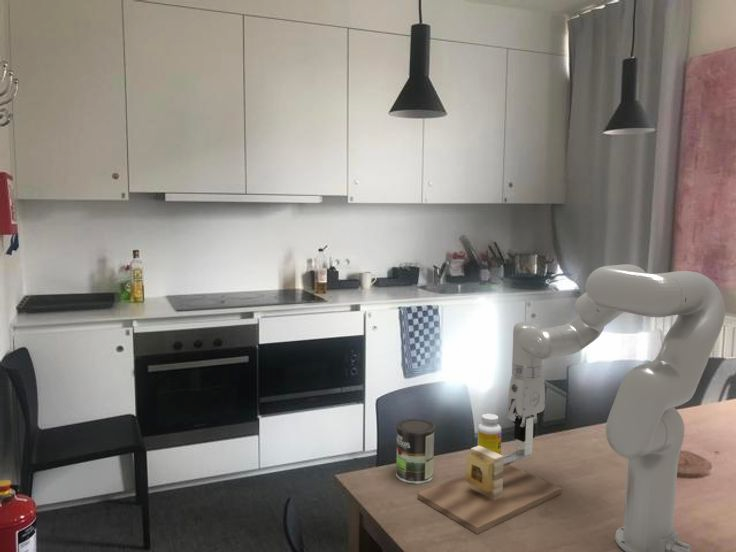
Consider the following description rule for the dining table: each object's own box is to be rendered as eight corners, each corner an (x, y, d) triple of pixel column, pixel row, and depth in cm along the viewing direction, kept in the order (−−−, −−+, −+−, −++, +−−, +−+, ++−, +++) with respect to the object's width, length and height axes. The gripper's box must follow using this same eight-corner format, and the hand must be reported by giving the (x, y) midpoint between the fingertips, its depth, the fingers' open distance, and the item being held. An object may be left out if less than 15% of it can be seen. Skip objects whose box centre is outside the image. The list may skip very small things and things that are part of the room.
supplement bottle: (500, 465, 166) (502, 421, 165) (476, 463, 168) (478, 419, 166) (500, 455, 173) (501, 413, 171) (477, 453, 174) (478, 411, 173)
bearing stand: (561, 493, 150) (563, 448, 148) (477, 534, 131) (478, 482, 130) (499, 466, 166) (501, 425, 164) (417, 498, 147) (418, 452, 146)
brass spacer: (492, 490, 143) (493, 462, 143) (487, 492, 142) (488, 464, 141) (471, 479, 149) (472, 453, 148) (466, 481, 148) (466, 455, 147)
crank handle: (522, 454, 158) (524, 413, 156) (532, 457, 155) (533, 416, 154) (476, 472, 147) (477, 428, 145) (485, 476, 144) (486, 432, 143)
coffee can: (408, 487, 153) (409, 435, 151) (389, 471, 162) (389, 422, 160) (441, 479, 158) (442, 428, 156) (420, 464, 167) (421, 416, 165)
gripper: (518, 379, 145) (515, 450, 147) (558, 368, 155) (555, 435, 157) (494, 372, 151) (492, 441, 153) (534, 362, 161) (532, 427, 163)
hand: (524, 437), depth 155 cm, fingers closed on crank handle, 3 cm apart
